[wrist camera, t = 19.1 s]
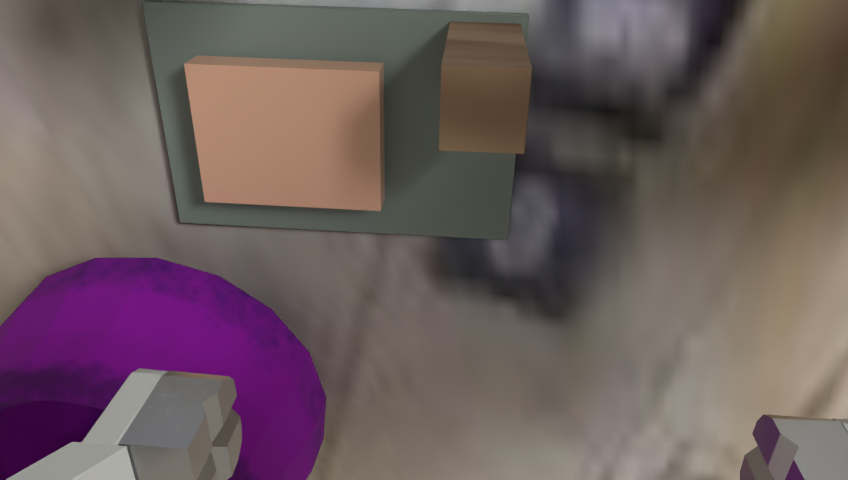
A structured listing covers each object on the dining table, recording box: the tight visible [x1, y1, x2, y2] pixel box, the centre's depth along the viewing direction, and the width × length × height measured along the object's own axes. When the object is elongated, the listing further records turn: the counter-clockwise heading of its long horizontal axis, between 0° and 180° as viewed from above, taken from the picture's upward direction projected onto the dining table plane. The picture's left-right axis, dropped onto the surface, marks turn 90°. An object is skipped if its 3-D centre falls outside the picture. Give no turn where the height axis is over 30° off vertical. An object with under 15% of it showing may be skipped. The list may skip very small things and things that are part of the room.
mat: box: [142, 0, 529, 240], centre depth 34 cm, size 18×12×1 cm, turn 89°
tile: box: [184, 55, 385, 211], centre depth 33 cm, size 2×7×9 cm
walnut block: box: [439, 22, 532, 154], centre depth 28 cm, size 3×3×8 cm
